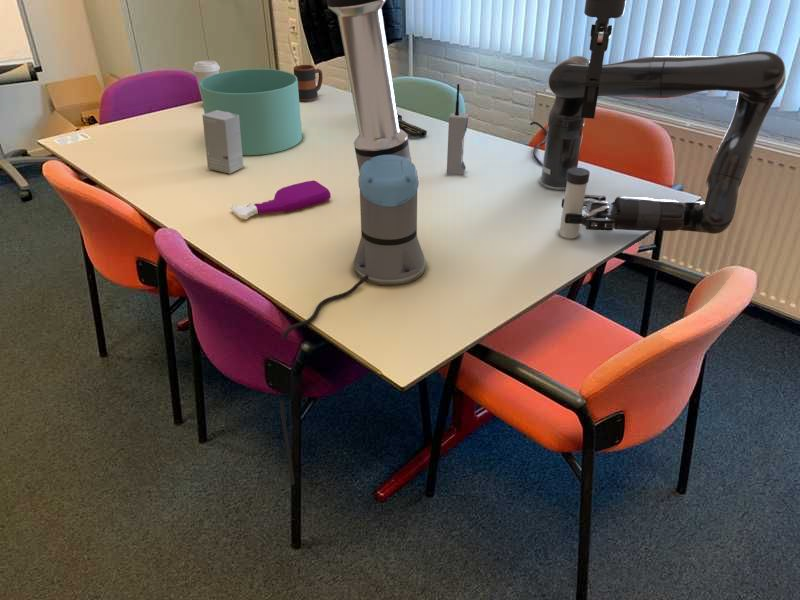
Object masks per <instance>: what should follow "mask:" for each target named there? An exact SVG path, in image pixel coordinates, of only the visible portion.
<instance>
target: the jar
mask: <svg viewBox="0 0 800 600" xmlns="http://www.w3.org/2000/svg"><path fill="white" fill-rule="evenodd" d="M587 185H588V183H586V184H573V183H570V182H568V181H567V185H566V190H565V192H564V198H565V199H564V198H563V199H564V205H563V208H562V212H561V219H560V224H559V225H560V226H559V236H560V237H562V238H564V239H569V240H571V239H572V240H573V239H576V238H578V237H579V232H580V226H581V224H570V223H565V215H566V214H567V213H573V214H582V215H583V210H582V209H583V203H584V197H585V195H586V190H587Z"/></svg>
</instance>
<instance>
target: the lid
mask: <svg viewBox="0 0 800 600" xmlns="http://www.w3.org/2000/svg"><path fill="white" fill-rule="evenodd" d="M590 174H591V172H590V170H589V169H586V168H584V167H577V168H570V169H568V171H567V177H566V180H567V181H568V182H570V183H573V184H586V183H587V184H588V183H589V181H590Z"/></svg>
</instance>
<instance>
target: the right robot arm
mask: <svg viewBox="0 0 800 600" xmlns="http://www.w3.org/2000/svg"><path fill="white" fill-rule="evenodd" d="M589 64H590V59H588V58H586V57H584V56H582V55H575V56H570V57H568V58H567V59H565V60H563V61H562V62H560V63H558V64H557V65H556V66H555V67H554V68H553V69H552V71H551V72H550V74H549V77H548V86H549V89H550V91H551V92H552V93H553V94H554V95H555V98H554V101H553V104H552V107H551V108H550V110H549V114H548V120H547V121H548V122H547V129H546V128H545V127H544V126H543V125H542V124H541V123H540V122H537V121H532V122H531V123H530V124H529V125H530V126H533V125H537V126H538V127H539V128H540V129H542V130H543V132H544V134H545V136H544V138H543V140H541V141H540V142H538V143H537V144H536V145H535V146H534V148H533V151H532V155H533V156H532V157H533V158H534V160H535V161H536V162H537V164H538V165H540V166H542V169H541V175H540V180H539V181H540V185H541V186H542V187H544V188H547V189H549V190H555V191H566V185H567V180H566V177H567V171H568V169H570V168H579V160H580V155H581V154H580V153H581V147H582V141H583V134H584V128H585V123H586V118H581V112H582V105H583V99H584V92H585V86H582V85H583V82H586V80H587V74H588V69H589ZM785 65H786V64H785V62H784V59H782V57H781V56H779V55H778V54H776V53H774V52H772V51H767V50H766V51H765V50H760V51H752V52H743V53H735V54H728V55H727V54H726V55H718V56H716V55H715V56H704V55H703V56H701V55H697V56H696V55H689V56H688V55H686V56H685V55H684V56H681V55H680V56H679V55H678V56H677V55H676V56H675V55H674V56H673V55H671V56H670V55H665V56H645V57H638V58H634V59H633V58H632V59H628V60H624V61H619V62H614V63H608V64H603V65H602V69H604V74H601V77H600V81H601V82H600V85H599V92H598V97H617V98H637V99H639V98H640V99H673V98H679V97H685V96H689V95H693V94H697V93H702V92H706V91H708V92H709V91H724V92H725V91H726V92H738V94H737V100H736V105H735V106H736V107H735V109H734V113H733V116H732V118H731V122H730V124H729V126H728V129H727V130H726V132H725V135H724V136H723V138H722V140H721V142H720V144H719V145H718V148H717V150H716V152H715V155H714V157H713V160H712V163H711V166H710V169H709V171H708V175H707V178H706V181H705V186H706V187H707V194H706V197H705V200H704V201H679V200H675V199H673V200H672V199H656V198H650V197H634V196H617V197H616V198H615V199H614V201H613V202H611V201H607V196H606V195H598V194H585V197H584V203H583V209H582V211H584V214H583V213H582V214H573V213H567V214H566V215H565V223H570V224H580V225H581V226H583V227H585V230H588V231H607V232H611V231H614V230H617V231H638V232H639V231H640V232H649V231H658V232H659V231H661V232H676V231H684V232H694V233H695V232H697V233H705V234H712V235H716V234H721V233H722V232H725V231H726V230H727V229H728V228H729V226H730V225H731V223H732V221H733V219H734V217H735V213H736V209H737V204H738V197H739V190H740V186H741V184H742V181H743V179H744V176H745V173H746V171H747V168H748V165H749V162H750V159H751V156H752V154H753V150H754V147H755V143H756V142H757V141H756V140H757V139H758V135H759V133H760V130H761V127H762V125H763V124H764V121H765V119H766V117H767V115H768V113H769V111H770V109H771V107H772V106H773V104H774V102H775V100H776V99H777V97H778V95H779V94H780V92H781V90H782V89H783V87H784V85H785V82H786V75H787V74H786V66H785ZM544 143H545V145H544V153H543V159H542V160H543V161H542V162H541V160H540V159H539V158H538V156H537V154H536V152H537V149H538V148H539V147H540V146H542V145H543V144H544ZM564 199H565V197H564V198H562V200H561V208H562V209H563V205H564Z"/></svg>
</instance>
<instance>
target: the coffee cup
mask: <svg viewBox="0 0 800 600" xmlns="http://www.w3.org/2000/svg"><path fill="white" fill-rule="evenodd" d="M193 64H194V65H193V66H192V71H193V72H194V74H195V78H196V83H197V87H198V90H199V94H200V98H201V99H202V96H201V90H200V82H201V81H202V80H203V79H204V78H206V77H208V76H211V75H214V74H217V73H220V70H221V67H220V65H219V63H218V62H217V61H215V60H200V61H195V62H194V63H193Z"/></svg>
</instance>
